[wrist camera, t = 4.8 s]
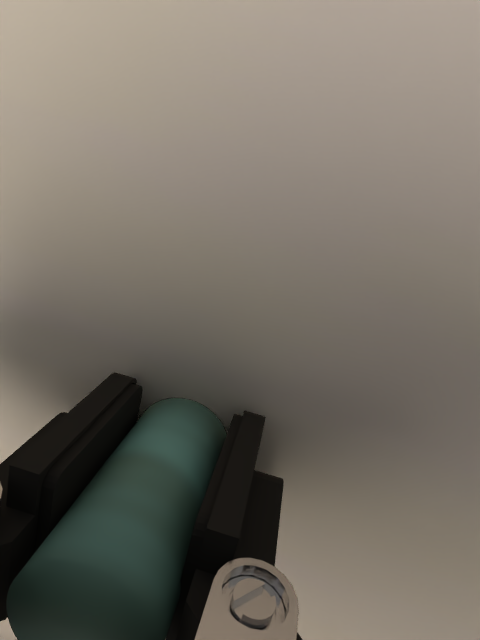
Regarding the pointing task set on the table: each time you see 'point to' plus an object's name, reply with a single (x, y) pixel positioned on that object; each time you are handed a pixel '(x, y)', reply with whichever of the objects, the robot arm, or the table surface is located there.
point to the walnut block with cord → (123, 535)
